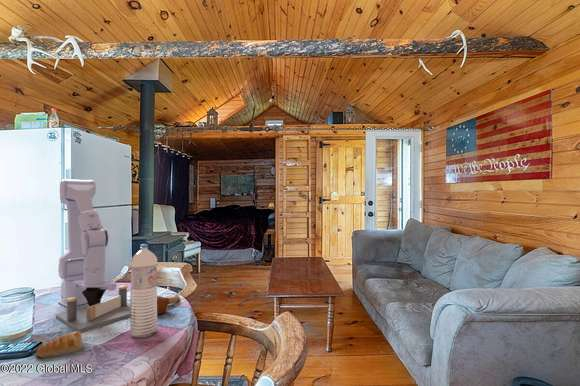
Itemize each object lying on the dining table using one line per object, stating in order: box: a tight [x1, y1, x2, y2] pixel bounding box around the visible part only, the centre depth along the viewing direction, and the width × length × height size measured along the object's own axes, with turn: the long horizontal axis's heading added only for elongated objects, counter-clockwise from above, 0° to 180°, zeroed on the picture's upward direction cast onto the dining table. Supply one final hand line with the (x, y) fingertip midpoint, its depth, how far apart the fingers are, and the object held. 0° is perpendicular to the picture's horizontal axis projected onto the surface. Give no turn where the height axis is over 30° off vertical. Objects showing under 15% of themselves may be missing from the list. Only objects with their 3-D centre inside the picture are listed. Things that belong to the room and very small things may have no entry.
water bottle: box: [129, 243, 158, 339], centre depth 90 cm, size 7×7×25 cm
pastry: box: [35, 331, 84, 359], centre depth 80 cm, size 9×7×4 cm
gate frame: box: [55, 284, 131, 333], centre depth 103 cm, size 18×19×8 cm
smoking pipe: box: [157, 294, 180, 316], centre depth 111 cm, size 7×18×6 cm, turn 2°
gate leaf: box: [86, 294, 121, 320], centre depth 101 cm, size 12×2×4 cm, turn 166°
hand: (94, 311), depth 99 cm, fingers closed
